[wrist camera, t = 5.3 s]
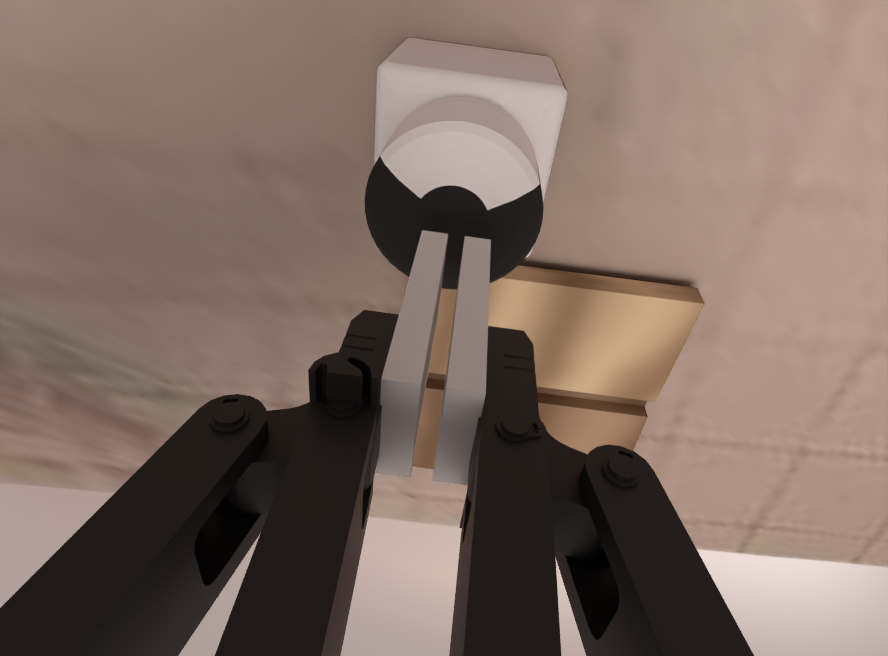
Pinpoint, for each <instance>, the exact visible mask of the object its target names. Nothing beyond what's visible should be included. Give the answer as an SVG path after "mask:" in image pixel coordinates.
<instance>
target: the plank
mask: <svg viewBox="0 0 888 656" xmlns="http://www.w3.org/2000/svg"><path fill="white" fill-rule="evenodd" d="M456 294H457V289H454V290H452V289H443V288H441V296H440V304H439V312H438V318H437V324H436V330H435V335H434V341H433V347H432V353H431V359H430V365H429V371H428V372H430V373H438V374H445V375H446V370H447V362H448V354H449V346H450V338H451V331H452V323H453V315H454V308H455V301H456ZM703 306H704V301H703V299H702V297H701V295H700V292H699V290H698V288H693V287H685V286H678V285H670V284H662V283H654V282H646V281H638V280H630V279H622V278H614V277H607V276H599V275H591V274H583V273H575V272H567V271H559V270H551V269H543V268H536V267H528V266H520V265H518V266H517V267H516V268H515V269H514V270H512V271H511V272H510V273H508V274H507V275H506V276H504V277H502V278H500V279H498V280H496V281H494V282H492V283H489V312H488V326H493V327H501V328H508V329H515V330H522V331H525V333H526V334H527V336H528V337H529V339H530V340H531V342H532V343H533V347H534V361H535V373H536V384H537V387H545V388H553V389H560V390H568V391H576V392H583V393H591V394H599V395H606V396H614V397H622V398H629V399H637V400H645V401H652V402H655V401H656V399H657V397H658V395H659V393H660V391H661V389H662V387H663V385H664V384H665V382H666V380H667V378H668V376H669V374H670V372H671V370H672V368H673V366H674V364H675V362H676V360H677V358H678V356H679V354H680V352H681V350H682V348H683V346H684V344H685V342H686V340H687V338H688V336H689V334H690V332H691V330H692V328H693V326H694V324H695V322H696V320H697V318H698V316H699V314H700V312H701V310H702V308H703Z"/></svg>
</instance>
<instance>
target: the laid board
mask: <svg viewBox="0 0 888 656" xmlns="http://www.w3.org/2000/svg"><path fill="white" fill-rule="evenodd" d="M445 378H446V375H445V374H438V373H430V372H428V377H427V383H426V389H425V395H424V401H423V406H422V412H421V418H420V424H419V430H418V436H417V442H416V448H415V454H414V460H413V466H415V467H423V468H430V469H434V464H435V456H436V449H437V441H438V433H439V425H440V417H441V409H442V401H443V393H444V386H445ZM537 396H538V408H539V417H540V420H541V421H542V422H543V423H544V425H545V427H546V430H547V432H548V433H549V434H550V435H551V436H552V437H553V438H555V439H556V440H558V441H559V442H561V443H563V444H565V445H567V446H569V447H571V448H573V449H576V450H578V451H581V452H583V453H586V454H588V453H589V452H590V451H592V450H593V449H594V448H596V447H598V446H603V445H616V446H622V447H624V448H627V449H629V450H632V451H633V449H634V447H635V445H636V442H637V440H638V438H639V435H640V433H641V431H642V429H643V426H644V424H645V422H646V420H647V413H646V410H645V407H644V406H645V404H646V402H647V401H645V400H637V399H629V398H622V397H614V396H606V395H599V394H591V393H583V392H576V391H568V390H560V389H553V388H545V387H537Z"/></svg>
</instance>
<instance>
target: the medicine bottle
mask: <svg viewBox="0 0 888 656" xmlns="http://www.w3.org/2000/svg"><path fill="white" fill-rule="evenodd" d="M566 102H567V90H566V88H565V86H564V83H563V81H562V79H561V76H560V74H559V72H558V70H557V67H556V65H555V63H554V61H553V59H552V58H550V57H548V56H541V55H534V54H527V53H519V52H512V51H505V50H497V49H490V48H483V47H475V46H468V45H461V44H453V43H446V42H439V41H431V40H424V39H417V38H407V39H406V40H405V41H404V42H403V43H402V44H401V45H400V46H399V47H398V48H397V49H396V50H395V51H394V52H393V53H392V54H391V55H390V56H389V57H387V58H386V59H385V60H384V61H383V62H382V63H381V64H380V65H379V66H378V70H377V86H376V116H375V146H374V166H373V169H372V171H371V174H370V176H369V179H368V183H367V187H366V193H365V213H366V219H367V224H368V227H369V230H370V232H371V235H372V237H373V239H374V241H375V243H376V245H377V246H378V248H379V249H380V251H381V252H382V254H383V255H384V256H385V257H386V258H387V259H388V261H389V262H390V263H391V264H392V265H394V266H395V267H396V268H397V269H398V270H399V271H401V272H402V273H404V274H405V275H407V276H408V277H409V276H410V273H411V269H412V265H413V262H414V258H415V254H416V251H417V247H418V243H419V240H420V236H421V233H422V230H424V231H431V232H438V233H446V234H448V239H447V247H446V255H445V263H444V271H443V280H442V288H443V289H452V290H454V289H457V287H458V280H459V273H460V266H461V259H462V252H463V245H464V238H465V236H467V237H475V238H482V239H489V240H491V251H490V281H489V283H492V282H494V281H496V280H498V279H500V278H502V277H504V276H506V275H507V274H508V273H510V272H511V271H512V270H514V269H515V268H516V267H517V266H518V265H519V264H520V263H521V262H522V261H523V260H524V259H525V258H527V257H529V256H530V254H531V252H532V250H533V246H534V244H535V242H536V239H537V237H538V234H539V232H540V228H541V224H542V219H543V202H544V198H545V193H546V189H547V185H548V180H549V176H550V172H551V167H552V163H553V159H554V154H555V150H556V145H557V141H558V137H559V132H560V128H561V124H562V119H563V115H564V111H565V106H566Z"/></svg>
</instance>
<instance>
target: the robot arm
mask: <svg viewBox="0 0 888 656" xmlns="http://www.w3.org/2000/svg"><path fill="white" fill-rule="evenodd" d="M447 239H448V234H446V233H438V232H431V231H424V230H422V233H421V236H420V240H419V243H418V247H417V251H416V254H415V258H414V262H413V265H412V269H411V273H410V276H409V280H408V284H407V287H406V291H405V294H404V298H403V302H402V305H401V309H400V313H399V315H397V314H390V313H382V312H375V311H368V310H364V311H362V312H361V313H360V314H359V315H358V316H356V317H355V318H354V319H353V320H351V323H350V325H349V328H348V330H347V333H346V336H345V338H344V340H343V343H342V347H341V348H340V350H339V353H334V354H330V355H326V356H323V357H322V358H320V359H318V360H317V361H315V362H314V363H313V365H312V366H311V367H310V369H309V370H308V372H309V392H310V402H309V403H307V404H304V405H302V406H299V407H295V408H289V409H282V410H272V411H266V408H265V407H264V406H263V404H262V403H261V402H260V401H259V400H257V399H255V398H253V397H251V396H246V395H239V394H235V395H226V396H222V397H219V398H216V399H214V400H211V401H209V402H208V403H206V404H205V405H204V406H202V407H201V408H199V409H198V410H197V411H196V412H195V413H194V414H193V415H192V416H191V417H190V418H189V419H188V420H187V421H186V422H185V423H184V424H183V425H182V426H181V427H180V428H179V429H178V430H177V431H176V432H175V433H174V434H173V435H172V436H171V437H170V438H169V439H168V440H167V441H166V442H165V443H164V444H163V445H162V446H161V447H160V448H159V449H158V450H157V451H156V452H155V453H154V454H153V455H152V456H151V457H150V458H149V459H148V460H147V462H146V463H145V464H144V465H143V466H142V467H141V468H140V469H139V470H138V471H137V472H136V473H135V474H134V475H133V476H132V477H131V478H130V479H129V480H128V481H127V482H126V483H125V484H124V485H123V486H122V487H121V488H120V489H119V490H118V491H117V492H116V493H115V494H114V495H113V496H112V497H111V498H110V499H109V500H108V501H107V502H106V503H105V504H104V505H103V506H102V507H101V508H100V509H99V510H98V511H97V512H96V513H95V514H94V515H93V516H92V517H91V518H90V519H89V520H88V521H87V522H86V523H85V524H84V525H83V526H82V527H81V528H80V529H79V530H78V531H77V532H76V533H75V534H74V535H73V536H72V537H71V538H70V539H69V540H68V541H67V542H66V543H65V544H64V545H63V546H62V547H61V548H60V549H59V550H58V551H57V552H56V553H55V554H54V555H53V556H52V557H51V558H50V559H49V560H48V561H47V562H46V563H45V564H44V565H43V566H42V567H41V568H40V569H39V570H38V571H37V572H36V573H35V574H34V575H33V576H32V577H31V578H30V579H29V580H28V581H27V582H26V583H25V584H24V585H23V586H22V587H21V588H20V589H19V590H18V591H17V592H16V593H15V594H14V595H13V596H12V597H11V598H10V599H9V600H8V601H7V602H6V603H5V604H4V605H3V606H2V607H1V608H0V656H178V655H179V654H180V652H181V651H182V649H183V648H184V646H185V645H186V643H187V642H188V640H189V639H190V637H191V636H192V634H193V633H194V631H195V630H196V628H197V627H198V625H199V624H200V622H201V621H202V619H203V618H204V616H205V615H206V613H207V612H208V610H209V609H210V607H211V606H212V604H213V603H214V601H215V600H216V598H217V597H218V596H219V594H220V593H221V591H222V589H223V588H224V587H225V585H226V584H227V582H228V581H229V579H230V578H231V576H232V575H233V573H234V572H235V570H236V569H237V567H238V566H239V564H240V563H241V561H242V560H243V558H244V557H245V555H246V554H247V552H248V551H249V549H250V548H251V546H252V545H253V543H254V542H255V540H256V539H257V537H258V536H259V534H260V533H261V534H260V537H259V539H258V542H257V545H256V547H255V550H254V553H253V555H252V558H251V561H250V563H249V566H248V569H247V571H246V574H245V577H244V579H243V582H242V585H241V587H240V590H239V593H238V595H237V598H236V601H235V603H234V606H233V609H232V611H231V614H230V617H229V619H228V622H227V625H226V627H225V630H224V633H223V635H222V638H221V641H220V643H219V646H218V649H217V651H216V654H215V656H340V654H341V650H342V645H343V640H344V635H345V630H346V625H347V619H348V614H349V609H350V605H351V600H352V595H353V589H354V584H355V579H356V574H357V569H358V564H359V559H360V554H361V549H362V544H363V539H364V534H365V529H366V524H367V519H368V514H369V509H370V504H371V499H372V494H373V478H374V474H375V469H376V473H383V474H390V475H397V476H405V477H411V472H412V466H413V460H414V454H415V448H416V442H417V436H418V430H419V424H420V418H421V412H422V406H423V401H424V395H425V389H426V383H427V377H428V371H429V365H430V359H431V353H432V347H433V341H434V335H435V330H436V324H437V318H438V312H439V304H440V296H441V288H442V280H443V271H444V263H445V255H446V247H447ZM490 251H491V240H489V239H482V238H475V237H467V236H465V238H464V245H463V252H462V259H461V266H460V273H459V280H458V287H457V294H456V301H455V308H454V315H453V323H452V331H451V338H450V346H449V354H448V362H447V370H446V378H445V386H444V393H443V401H442V409H441V417H440V425H439V433H438V441H437V449H436V456H435V464H434V472H433V481H440V482H447V483H454V484H462V485H467V482H468V488H467V495H466V499H465V504H464V509H463V514H462V518H461V523H460V528H462V532H461V542H460V553H459V564H458V574H457V583H456V593H455V605H454V614H453V624H452V634H451V644H450V655H449V656H561V644H560V627H559V612H558V595H557V578H556V561H555V556H556V560H557V563H558V566H559V569H560V572H561V575H562V579H563V582H564V585H565V589H566V592H567V595H568V598H569V601H570V604H571V608H572V611H573V614H574V617H575V621H576V624H577V627H578V630H579V633H580V636H581V640H582V643H583V646H584V649H585V653H586V656H754V655H753V653H752V651H751V649H750V647H749V646H748V644H747V642H746V640H745V638H744V637H743V635H742V633H741V631H740V629H739V627H738V625H737V623H736V622H735V620H734V618H733V616H732V614H731V612H730V611H729V609H728V607H727V605H726V603H725V602H724V599H723V598H722V596H721V594H720V592H719V590H718V588H717V587H716V585H715V583H714V581H713V579H712V578H711V575H710V574H709V572H708V570H707V568H706V566H705V564H704V563H703V561H702V559H701V557H700V556H699V553H698V551H697V550H696V548H695V546H694V544H693V542H692V540H691V538H690V537H689V535H688V533H687V531H686V529H685V527H684V526H683V524H682V522H681V520H680V518H679V516H678V514H677V513H676V511H675V509H674V507H673V505H672V503H671V502H670V500H669V498H668V496H667V494H666V492H665V490H664V489H663V487H662V485H661V483H660V481H659V479H658V478H657V476H656V474H655V472H654V470H653V469H652V468H651V466H650V465H649V464H648V463H647V461H646V460H645V459H643V458H642V457H641V456H639V455H638V454H637V453H635V452H634V451H632V450H629V449H627V448H624V447H622V446H616V445H603V446H598V447H596V448H594V449H593V450H592V451H590V452H589V453H588V454H586V453H583V452H581V451H578V450H576V449H573V448H571V447H569V446H567V445H565V444H563V443H561V442H559V441H558V440H556V439H555V438H553V437H552V436H551V435H550V434H549V433H548V432H547V430H546V427H545V425H544V423H543V422H542V421H541V420H540V417H539V408H538V396H537V384H536V373H535V361H534V347H533V343H532V342H531V340H530V339H529V337H528V336H527V334H526V333H525V331H522V330H515V329H508V328H501V327H493V326H488V312H489V281H490ZM376 465H377V468H376Z"/></svg>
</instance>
